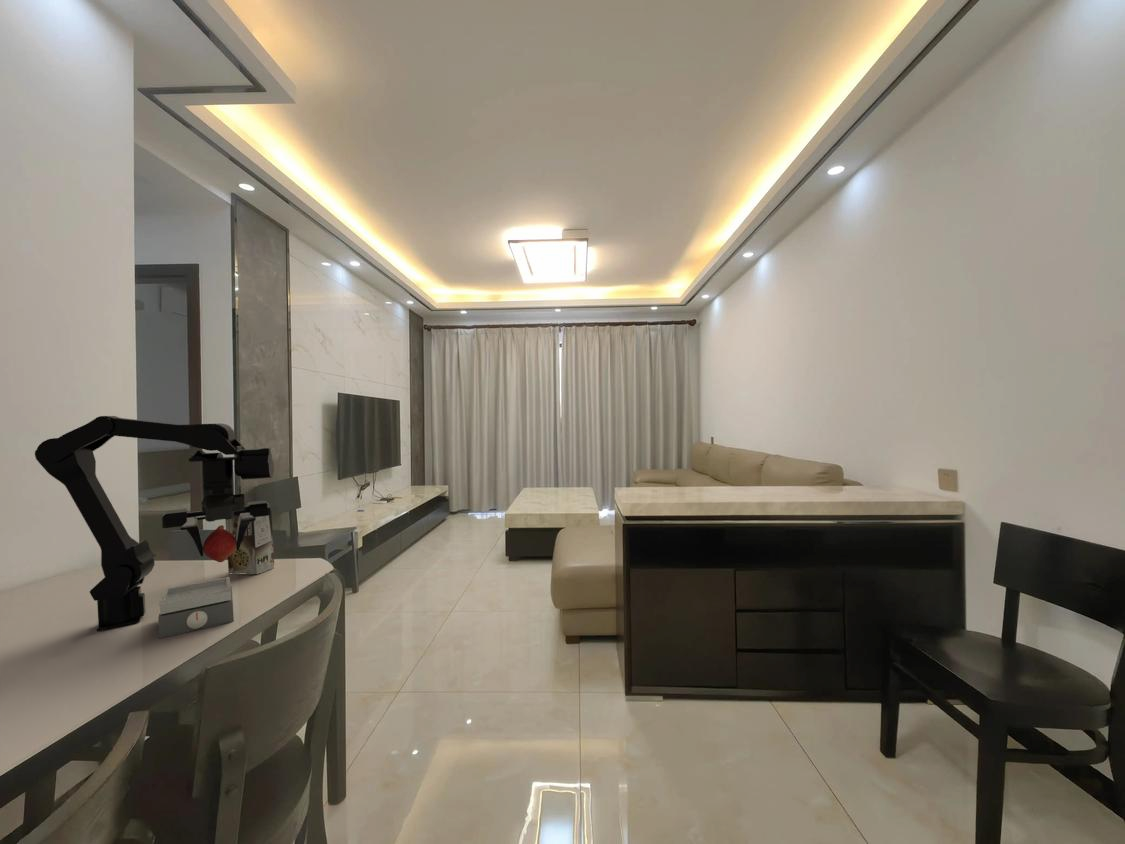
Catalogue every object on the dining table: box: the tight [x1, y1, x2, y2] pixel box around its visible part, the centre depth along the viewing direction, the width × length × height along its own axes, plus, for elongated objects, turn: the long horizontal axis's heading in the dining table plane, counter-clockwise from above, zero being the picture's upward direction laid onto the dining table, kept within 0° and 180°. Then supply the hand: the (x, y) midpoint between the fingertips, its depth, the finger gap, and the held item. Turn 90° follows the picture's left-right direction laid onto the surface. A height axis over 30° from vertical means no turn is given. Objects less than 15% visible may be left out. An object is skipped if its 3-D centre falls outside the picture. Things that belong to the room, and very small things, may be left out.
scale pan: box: [159, 576, 231, 615], centre depth 98 cm, size 11×11×2 cm
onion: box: [203, 525, 236, 563], centre depth 105 cm, size 6×6×8 cm
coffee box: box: [224, 508, 275, 575], centre depth 129 cm, size 9×6×16 cm
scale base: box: [157, 585, 235, 639], centre depth 98 cm, size 12×12×4 cm
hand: (220, 553), depth 105 cm, fingers closed on onion, 6 cm apart
